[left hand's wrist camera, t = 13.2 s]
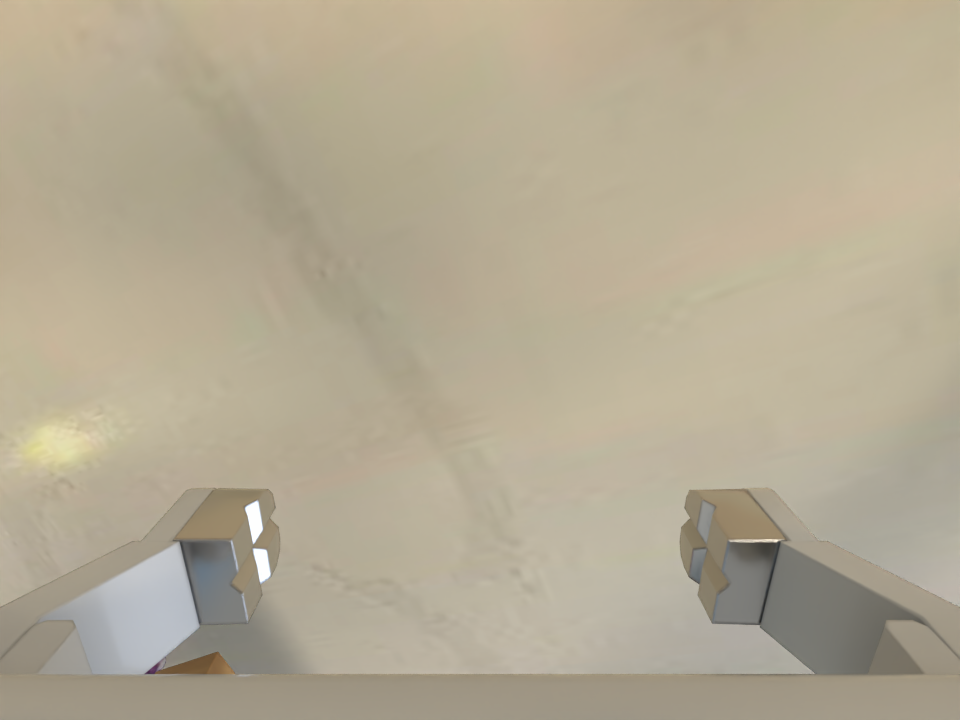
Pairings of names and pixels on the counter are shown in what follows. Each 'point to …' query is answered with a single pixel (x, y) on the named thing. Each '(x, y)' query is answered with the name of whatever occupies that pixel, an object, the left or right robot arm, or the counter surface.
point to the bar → (201, 666)
